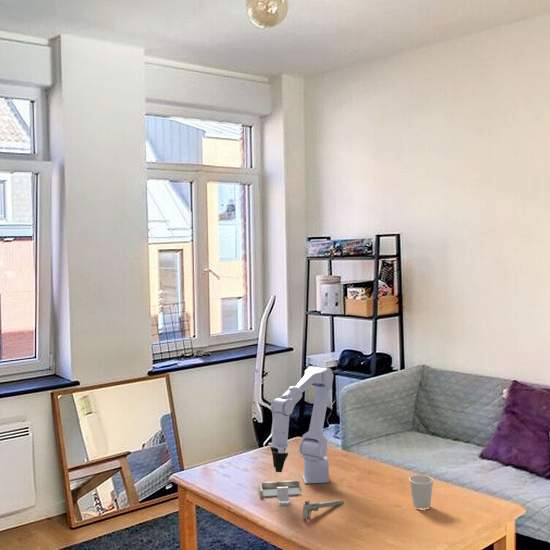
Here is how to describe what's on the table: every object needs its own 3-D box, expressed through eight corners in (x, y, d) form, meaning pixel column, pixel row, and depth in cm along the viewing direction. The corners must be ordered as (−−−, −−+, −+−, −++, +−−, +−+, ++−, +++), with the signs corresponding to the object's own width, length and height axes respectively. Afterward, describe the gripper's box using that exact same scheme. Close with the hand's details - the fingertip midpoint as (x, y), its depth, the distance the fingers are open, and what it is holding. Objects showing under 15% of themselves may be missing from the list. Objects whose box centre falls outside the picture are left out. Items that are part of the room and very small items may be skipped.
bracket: (277, 499, 241) (276, 487, 240) (288, 498, 241) (287, 486, 241) (278, 505, 235) (278, 493, 234) (290, 505, 235) (289, 492, 235)
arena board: (298, 487, 251) (298, 486, 251) (301, 495, 243) (301, 493, 243) (261, 489, 250) (261, 488, 250) (263, 497, 242) (263, 496, 242)
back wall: (299, 486, 252) (299, 480, 252) (299, 487, 251) (299, 480, 251) (259, 488, 251) (259, 482, 251) (260, 489, 250) (260, 483, 250)
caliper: (305, 521, 222) (304, 502, 221) (302, 520, 222) (302, 501, 222) (343, 503, 236) (343, 486, 236) (341, 502, 237) (341, 485, 236)
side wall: (261, 489, 250) (261, 483, 250) (263, 497, 242) (262, 490, 242) (258, 489, 250) (258, 483, 250) (260, 497, 242) (260, 491, 242)
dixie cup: (437, 505, 232) (436, 477, 231) (429, 513, 224) (429, 484, 224) (413, 500, 236) (413, 473, 235) (406, 509, 229) (405, 480, 228)
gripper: (267, 427, 249) (265, 464, 248) (271, 434, 234) (268, 473, 233) (286, 428, 249) (284, 465, 248) (290, 435, 235) (288, 474, 234)
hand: (277, 469), depth 241 cm, fingers open, 7 cm apart
